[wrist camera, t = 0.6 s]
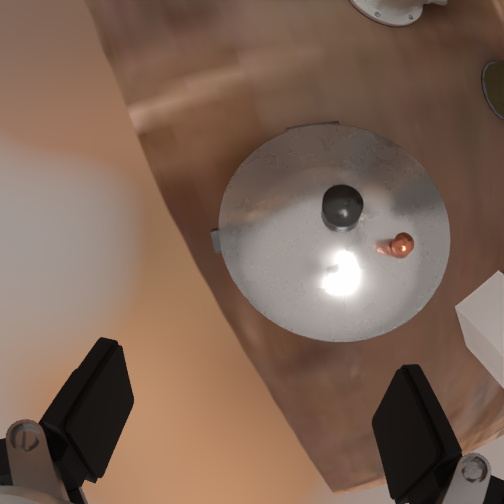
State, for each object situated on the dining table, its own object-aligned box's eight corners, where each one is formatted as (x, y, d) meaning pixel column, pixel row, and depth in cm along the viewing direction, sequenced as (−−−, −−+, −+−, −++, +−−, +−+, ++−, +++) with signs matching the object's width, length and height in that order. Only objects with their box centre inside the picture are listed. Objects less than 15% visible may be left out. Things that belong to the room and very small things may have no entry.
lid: (400, 121, 26) (406, 100, 24) (469, 311, 19) (488, 304, 17) (214, 145, 28) (206, 125, 25) (234, 360, 21) (224, 360, 18)
